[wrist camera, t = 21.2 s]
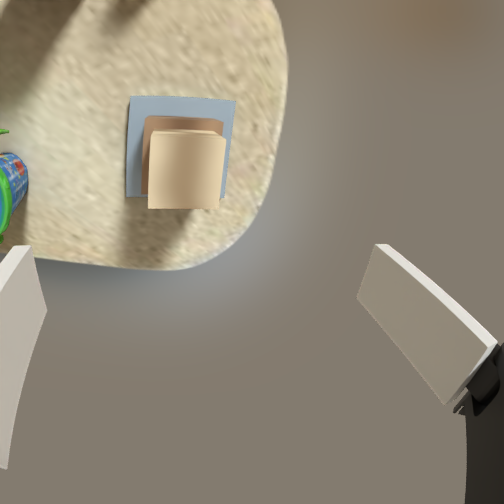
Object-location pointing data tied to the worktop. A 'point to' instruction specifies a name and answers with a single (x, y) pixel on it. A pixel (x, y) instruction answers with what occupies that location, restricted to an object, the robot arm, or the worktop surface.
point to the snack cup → (10, 185)
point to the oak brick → (185, 169)
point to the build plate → (171, 107)
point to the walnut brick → (172, 123)
